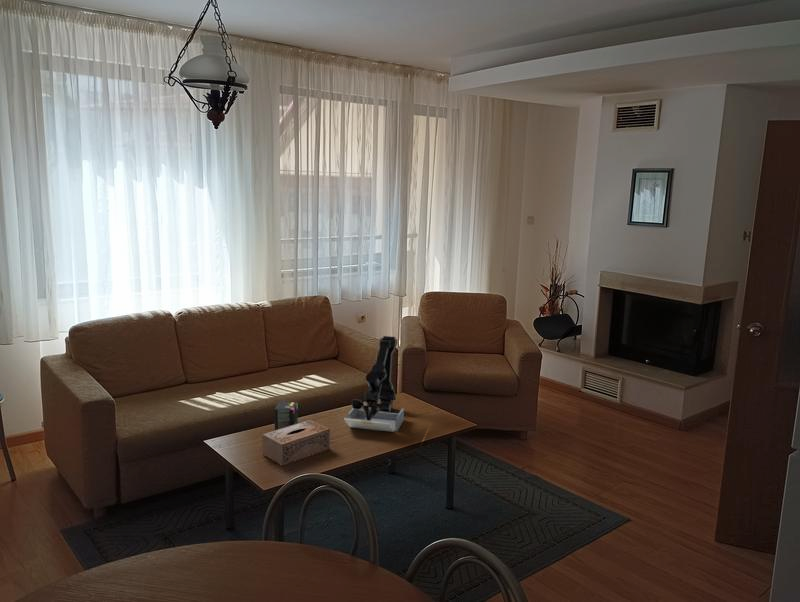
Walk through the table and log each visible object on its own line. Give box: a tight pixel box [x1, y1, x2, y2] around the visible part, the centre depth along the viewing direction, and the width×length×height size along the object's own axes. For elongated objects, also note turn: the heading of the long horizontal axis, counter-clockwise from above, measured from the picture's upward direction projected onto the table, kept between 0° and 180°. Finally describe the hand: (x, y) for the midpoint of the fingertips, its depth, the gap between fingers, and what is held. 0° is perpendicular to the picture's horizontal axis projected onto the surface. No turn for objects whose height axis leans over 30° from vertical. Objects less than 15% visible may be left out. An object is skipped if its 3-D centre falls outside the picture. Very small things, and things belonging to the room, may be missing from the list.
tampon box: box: [273, 401, 299, 431], centre depth 298 cm, size 11×9×15 cm
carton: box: [347, 407, 405, 432], centre depth 313 cm, size 15×25×7 cm, turn 78°
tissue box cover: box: [261, 419, 331, 466], centre depth 279 cm, size 26×14×10 cm, turn 135°
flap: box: [343, 417, 394, 433], centre depth 301 cm, size 1×22×13 cm
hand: (367, 422), depth 298 cm, fingers closed, pressing on flap
